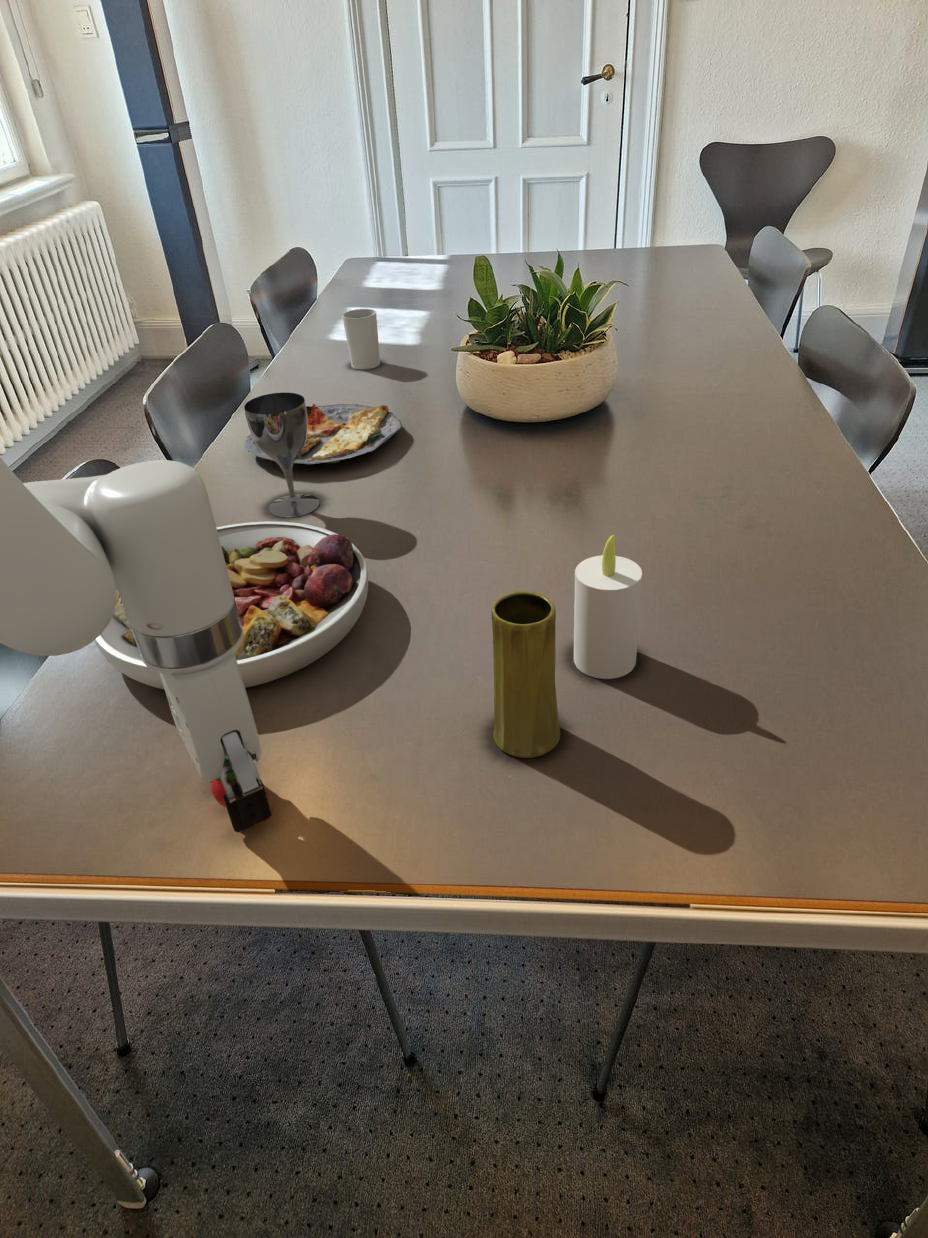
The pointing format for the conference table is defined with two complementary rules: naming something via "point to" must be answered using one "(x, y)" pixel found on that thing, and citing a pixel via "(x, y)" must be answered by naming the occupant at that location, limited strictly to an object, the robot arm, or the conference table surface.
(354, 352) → the white cup
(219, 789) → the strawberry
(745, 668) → the conference table surface
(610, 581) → the candle
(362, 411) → the food plate
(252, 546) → the bowl
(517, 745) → the vase
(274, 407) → the wine glass
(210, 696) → the robot arm
